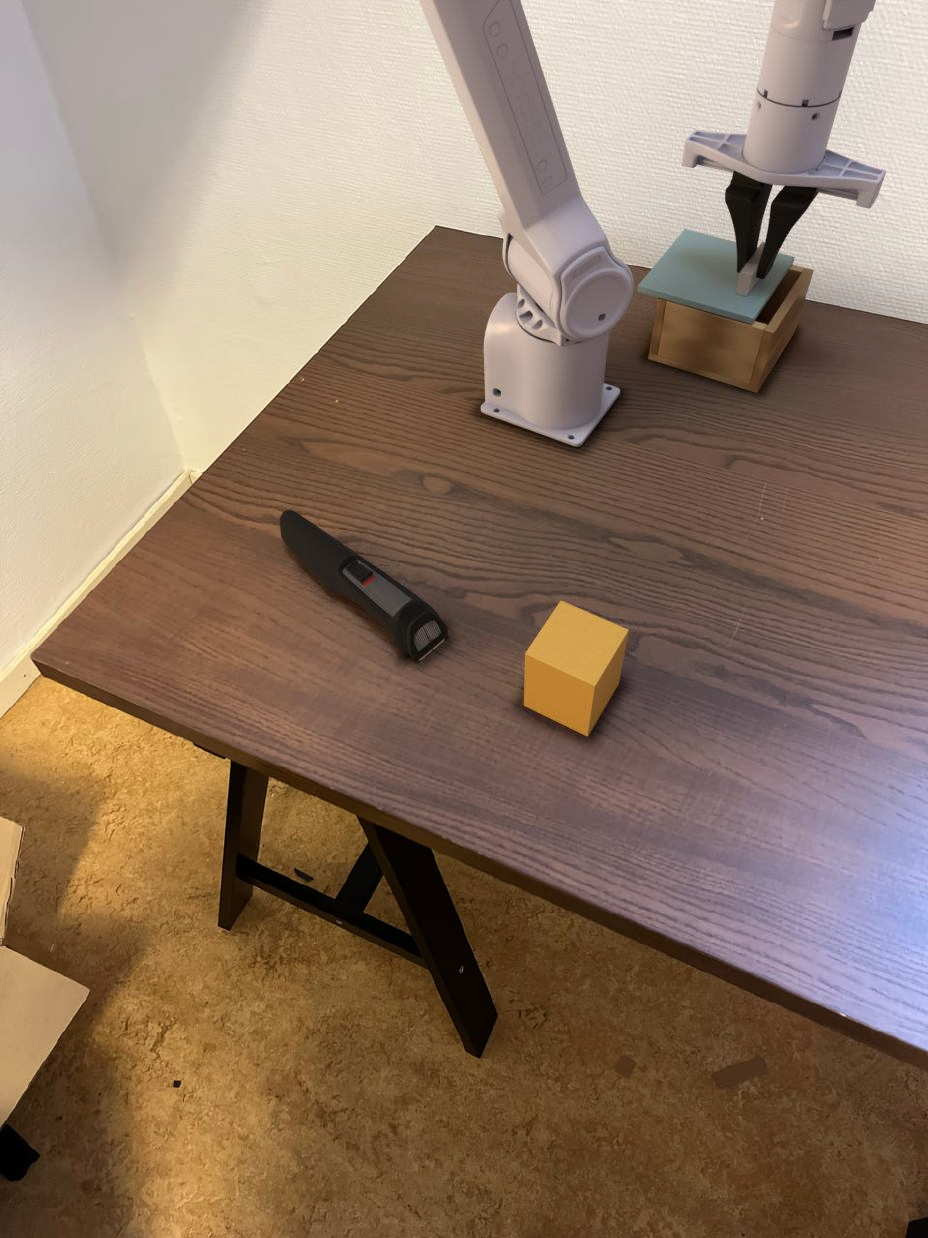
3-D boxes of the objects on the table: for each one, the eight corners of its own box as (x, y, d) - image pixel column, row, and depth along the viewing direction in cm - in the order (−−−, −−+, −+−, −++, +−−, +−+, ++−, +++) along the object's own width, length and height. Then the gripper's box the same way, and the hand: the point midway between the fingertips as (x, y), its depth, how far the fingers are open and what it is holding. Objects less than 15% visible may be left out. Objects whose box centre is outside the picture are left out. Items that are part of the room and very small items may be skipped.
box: (647, 359, 76) (657, 298, 71) (691, 301, 81) (702, 240, 76) (757, 393, 73) (774, 332, 68) (795, 330, 78) (814, 269, 73)
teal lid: (636, 291, 72) (640, 262, 70) (683, 234, 77) (688, 206, 75) (752, 324, 69) (759, 295, 66) (793, 262, 74) (801, 233, 71)
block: (523, 705, 55) (524, 653, 51) (556, 654, 58) (560, 600, 53) (587, 737, 54) (595, 686, 49) (619, 683, 56) (629, 629, 51)
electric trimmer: (312, 524, 66) (304, 494, 64) (452, 634, 59) (449, 606, 57) (274, 551, 65) (263, 522, 62) (412, 667, 58) (407, 640, 55)
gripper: (921, 85, 59) (857, 268, 70) (720, 50, 64) (690, 225, 75) (893, 128, 56) (830, 313, 67) (683, 87, 61) (657, 265, 71)
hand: (754, 269), depth 71 cm, fingers closed, pressing on teal lid
